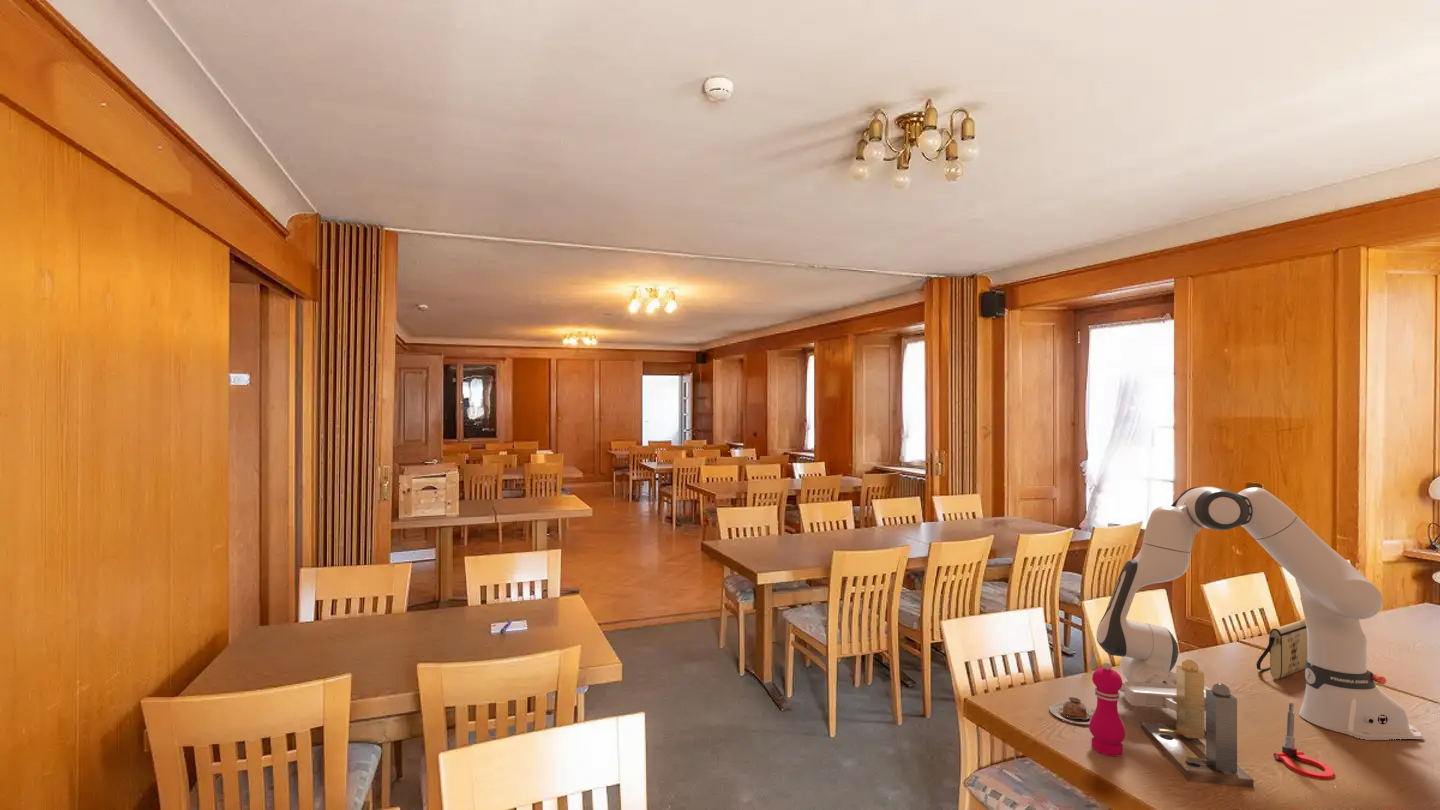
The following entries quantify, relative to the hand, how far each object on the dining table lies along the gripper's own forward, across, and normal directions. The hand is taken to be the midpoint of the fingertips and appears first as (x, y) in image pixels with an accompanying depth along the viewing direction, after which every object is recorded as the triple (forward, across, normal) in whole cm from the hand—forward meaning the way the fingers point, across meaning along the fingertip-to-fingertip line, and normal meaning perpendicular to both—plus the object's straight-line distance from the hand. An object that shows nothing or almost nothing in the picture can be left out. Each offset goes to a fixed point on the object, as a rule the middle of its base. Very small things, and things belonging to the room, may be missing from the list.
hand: (1185, 710), depth 159 cm
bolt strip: (+7, -4, +5) cm, 10 cm away
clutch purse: (-55, +52, +7) cm, 76 cm away
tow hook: (+8, +20, +7) cm, 23 cm away
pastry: (-9, -21, +8) cm, 24 cm away
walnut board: (+7, -2, +7) cm, 10 cm away
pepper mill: (+8, -20, +7) cm, 23 cm away
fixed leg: (+15, -2, +5) cm, 16 cm away
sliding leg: (+2, -2, +5) cm, 6 cm away
